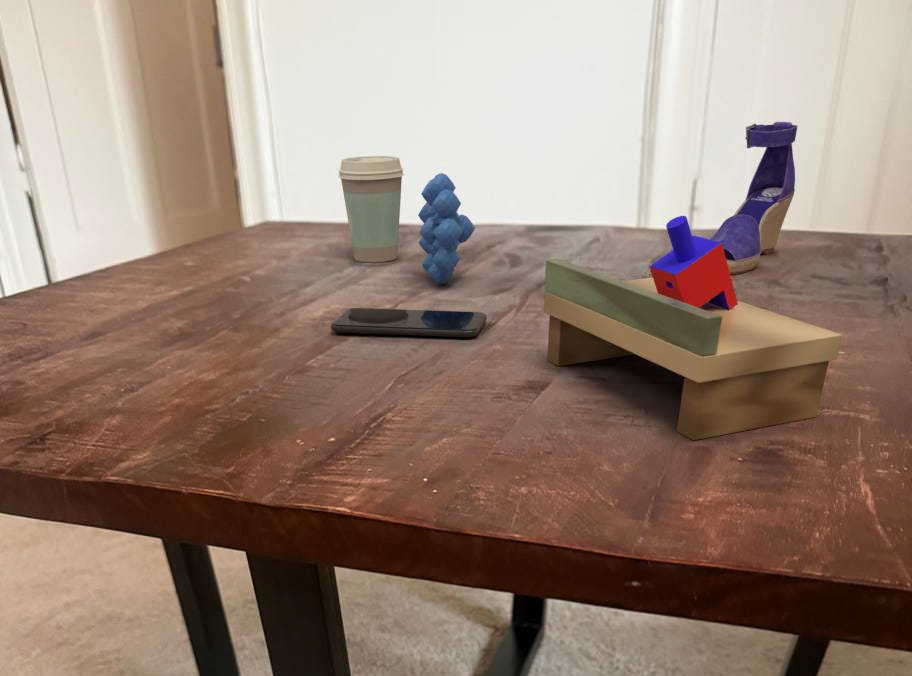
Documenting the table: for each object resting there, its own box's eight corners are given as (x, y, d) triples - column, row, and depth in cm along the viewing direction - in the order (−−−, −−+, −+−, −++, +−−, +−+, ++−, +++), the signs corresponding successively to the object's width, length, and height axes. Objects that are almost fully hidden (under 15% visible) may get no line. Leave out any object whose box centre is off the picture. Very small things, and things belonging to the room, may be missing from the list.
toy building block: (668, 324, 71) (638, 233, 66) (710, 294, 70) (684, 200, 65) (693, 335, 68) (664, 240, 63) (738, 303, 68) (712, 206, 63)
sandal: (668, 269, 109) (685, 130, 100) (752, 246, 120) (774, 119, 111) (726, 278, 104) (749, 133, 95) (808, 253, 115) (835, 121, 106)
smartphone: (488, 320, 90) (349, 315, 93) (488, 311, 90) (348, 306, 92) (476, 339, 84) (328, 334, 87) (476, 330, 84) (327, 325, 86)
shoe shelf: (654, 343, 82) (665, 246, 77) (823, 416, 65) (851, 297, 60) (541, 360, 78) (545, 259, 73) (689, 442, 61) (707, 317, 56)
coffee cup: (375, 250, 124) (370, 154, 117) (419, 256, 119) (416, 157, 113) (331, 260, 119) (323, 160, 112) (376, 267, 114) (370, 163, 107)
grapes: (488, 291, 101) (489, 175, 94) (431, 296, 100) (429, 178, 93) (463, 271, 110) (462, 164, 104) (411, 275, 109) (407, 167, 103)
